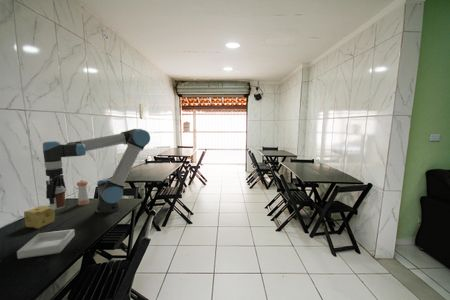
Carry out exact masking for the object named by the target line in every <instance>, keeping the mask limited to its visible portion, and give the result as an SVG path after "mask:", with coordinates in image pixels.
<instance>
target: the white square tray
mask: <svg viewBox="0 0 450 300" xmlns="http://www.w3.org/2000/svg"><path fill="white" fill-rule="evenodd" d="M75 232H76V231H75V229H74V228H73V229H64V230H57V231H47V232H39V233H37V234H36V235H35V236H33V237H32V238H31V239H30V240H29V241H28V242H27V243H25V244H24V245H23V246H22V247H20V248H19V249H18V250H17V251H16V257H17V259H18V260H19V259H20V260H21V259H26V258H33V257H40V256H48V255H53V254H56V255H57V254H60V253H61V252H62V251H63V250H64V249H65V247H67V246H68V244H69V243H70V242H71V241H72V239H73V238H74V237H75V236H76V234H75Z"/></svg>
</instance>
